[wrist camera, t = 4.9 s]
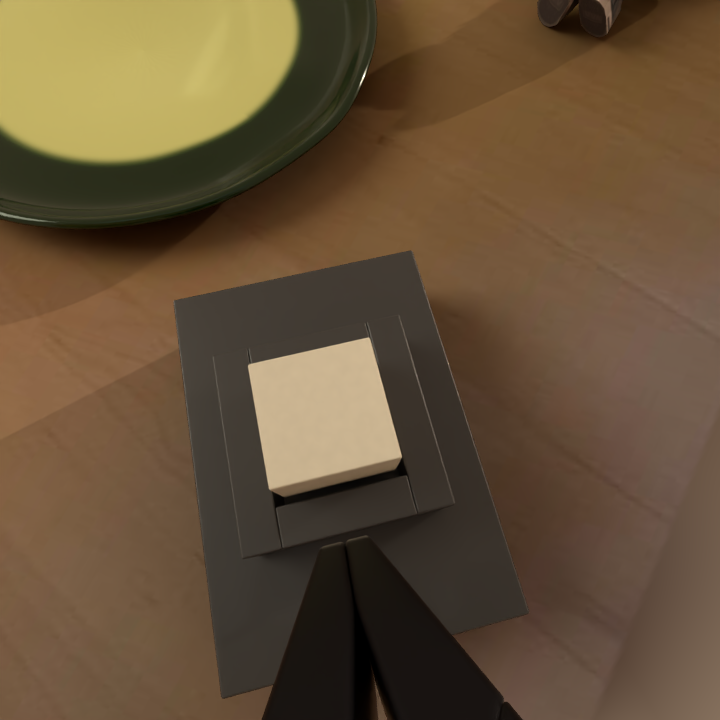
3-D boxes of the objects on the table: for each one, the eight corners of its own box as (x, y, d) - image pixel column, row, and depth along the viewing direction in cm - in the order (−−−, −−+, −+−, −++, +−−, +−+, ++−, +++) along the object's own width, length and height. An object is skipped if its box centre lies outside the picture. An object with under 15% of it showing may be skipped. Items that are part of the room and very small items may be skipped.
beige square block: (396, 470, 15) (402, 457, 13) (283, 497, 15) (269, 490, 13) (368, 365, 16) (369, 336, 14) (264, 389, 16) (247, 363, 14)
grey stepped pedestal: (499, 599, 19) (557, 626, 13) (247, 668, 18) (197, 728, 13) (404, 291, 24) (418, 215, 18) (201, 335, 23) (148, 270, 17)
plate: (-15, -92, 34) (-42, -138, 32) (379, -86, 34) (380, -132, 31) (-177, 247, 25) (-233, 217, 22) (371, 260, 24) (372, 231, 22)
